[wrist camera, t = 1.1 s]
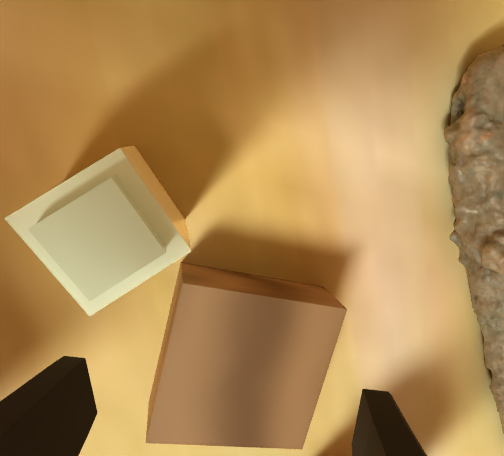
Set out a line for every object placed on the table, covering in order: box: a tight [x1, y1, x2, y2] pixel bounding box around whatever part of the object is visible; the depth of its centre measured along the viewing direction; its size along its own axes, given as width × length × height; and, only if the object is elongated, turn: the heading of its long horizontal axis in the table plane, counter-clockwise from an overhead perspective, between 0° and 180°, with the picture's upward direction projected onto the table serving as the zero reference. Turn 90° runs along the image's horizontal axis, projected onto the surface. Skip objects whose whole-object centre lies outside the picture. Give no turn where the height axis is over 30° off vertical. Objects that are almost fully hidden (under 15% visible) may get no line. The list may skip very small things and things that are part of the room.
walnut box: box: [146, 263, 347, 449], centre depth 21 cm, size 9×9×4 cm
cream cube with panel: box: [4, 146, 192, 316], centre depth 16 cm, size 5×5×7 cm
